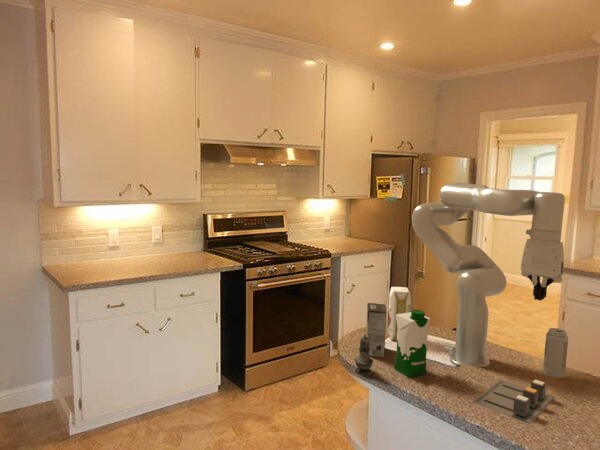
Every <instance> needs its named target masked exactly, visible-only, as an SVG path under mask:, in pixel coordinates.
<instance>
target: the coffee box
mask: <svg viewBox="0 0 600 450" xmlns="http://www.w3.org/2000/svg"><path fill="white" fill-rule="evenodd" d="M366 308H367V311H366V331H365V332H366V333H365V335H366V337H367V338H369V348H370V350H369V357H379V358H384V357H385V350H386V349H385V347H386V331H387V330H386V329H387V307H386V304H385V303H383V304H382V303H376V302H375V303H374V302H373V303H372V302H367V306H366Z"/></svg>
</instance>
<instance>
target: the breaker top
mask: <svg viewBox="0 0 600 450" xmlns="http://www.w3.org/2000/svg"><path fill="white" fill-rule="evenodd" d="M546 386H547V383H545V382H544V381H541V380H538V379H534V380H533V381H531V384H530V388H532V389H535V390H537V391H539V393H538V399H541V400H542V399H543V397H544V396H545V395H546V394H547V393H546V389H547V387H546Z"/></svg>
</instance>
